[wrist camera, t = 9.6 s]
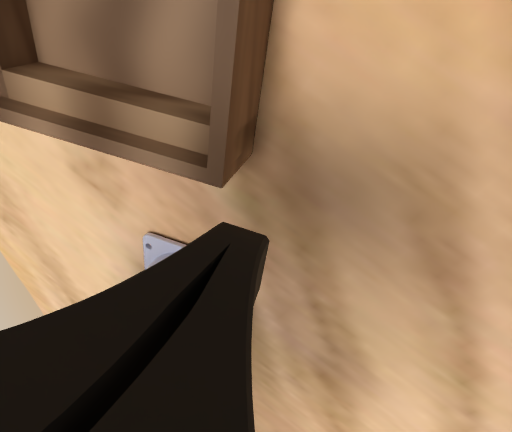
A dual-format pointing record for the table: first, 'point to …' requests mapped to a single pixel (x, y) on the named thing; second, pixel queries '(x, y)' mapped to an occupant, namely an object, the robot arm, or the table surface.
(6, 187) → the table surface
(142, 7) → the box
